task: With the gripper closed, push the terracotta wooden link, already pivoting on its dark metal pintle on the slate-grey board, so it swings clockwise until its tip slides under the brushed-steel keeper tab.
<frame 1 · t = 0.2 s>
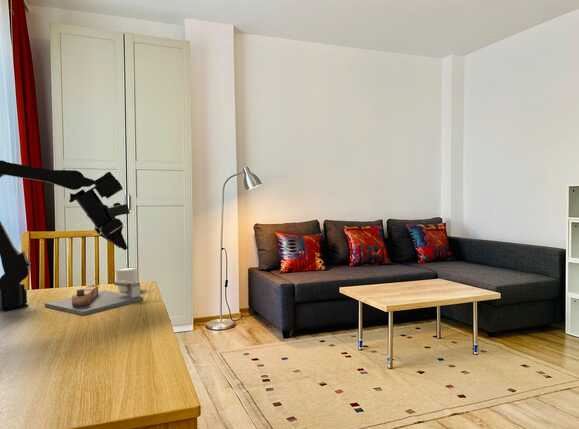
hand: (123, 248, 140), 15 cm above the table, tool tilted 30°, fingers open, 9 cm apart
link: (86, 292, 129), point 3 cm above the table, hinge at 45.0°
board: (94, 303, 129), on the table
white pedestal piece: (127, 290, 148), on the table
keeper: (127, 299, 133), resting on board
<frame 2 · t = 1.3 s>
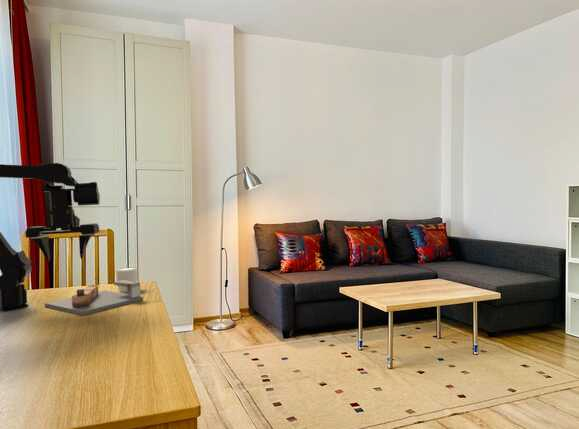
hand: (65, 259, 130), 13 cm above the table, tool pointing down, fingers open, 9 cm apart
nothing on the table moved.
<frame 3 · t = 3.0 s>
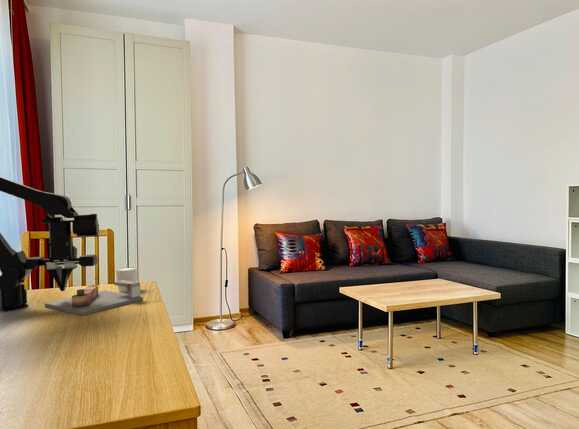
hand: (62, 290, 130), 4 cm above the table, tool pointing down, fingers closed
nothing on the table moved.
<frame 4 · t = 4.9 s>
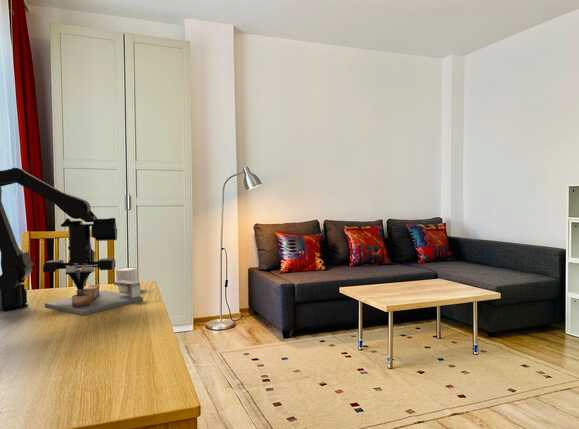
hand: (81, 294, 131), 2 cm above the table, tool pointing down, fingers closed
link: (87, 292, 129), point 3 cm above the table, hinge at 43.9°, touching gripper
everything else where it was.
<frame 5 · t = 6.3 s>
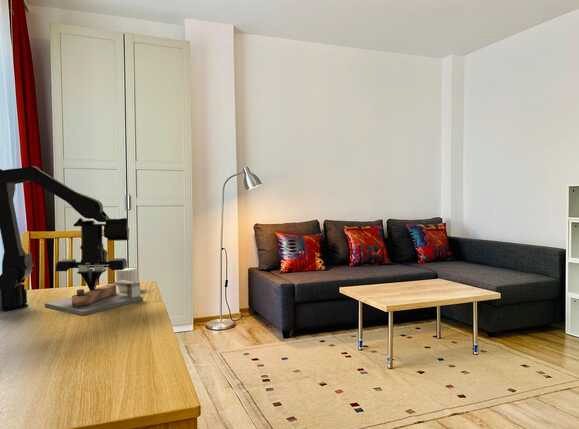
hand: (92, 293, 131), 2 cm above the table, tool pointing down, fingers closed
link: (95, 292, 129), point 3 cm above the table, hinge at 22.0°, touching gripper
everything else where it was.
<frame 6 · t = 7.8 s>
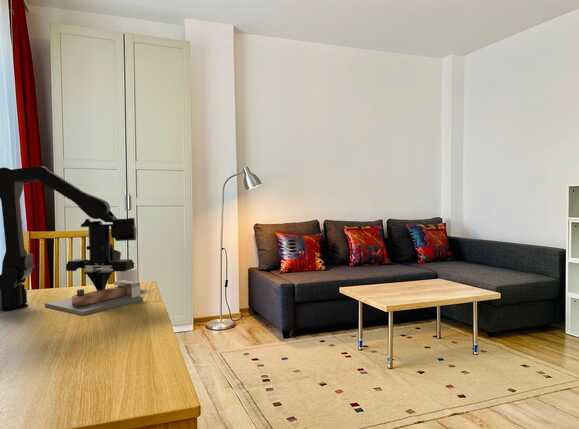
hand: (101, 293, 131), 2 cm above the table, tool pointing down, fingers closed
link: (102, 292, 128), point 3 cm above the table, hinge at 1.6°
everything else where it was.
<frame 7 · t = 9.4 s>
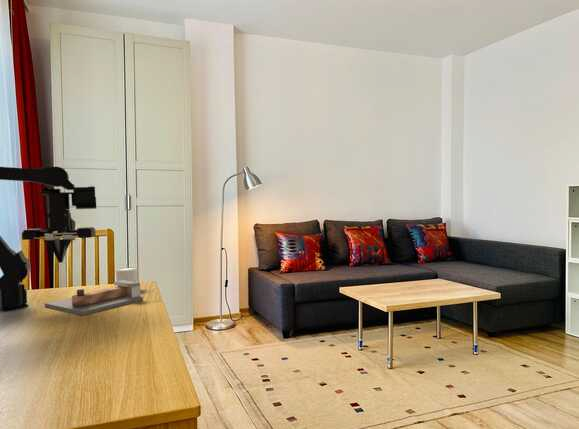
hand: (60, 262, 131), 12 cm above the table, tool pointing down, fingers closed
nothing on the table moved.
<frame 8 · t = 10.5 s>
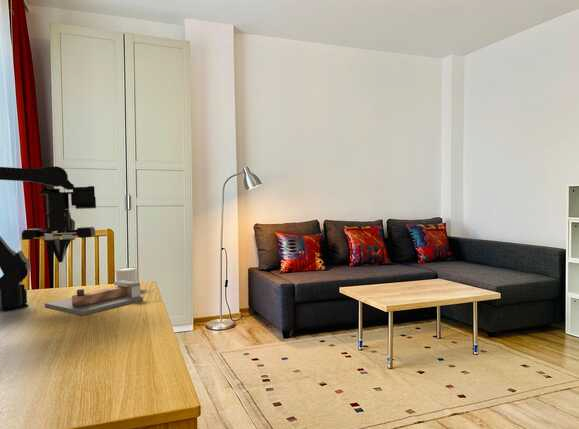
hand: (60, 262, 131), 12 cm above the table, tool pointing down, fingers closed
nothing on the table moved.
at the end: link at +2° (first picture: +45°) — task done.
